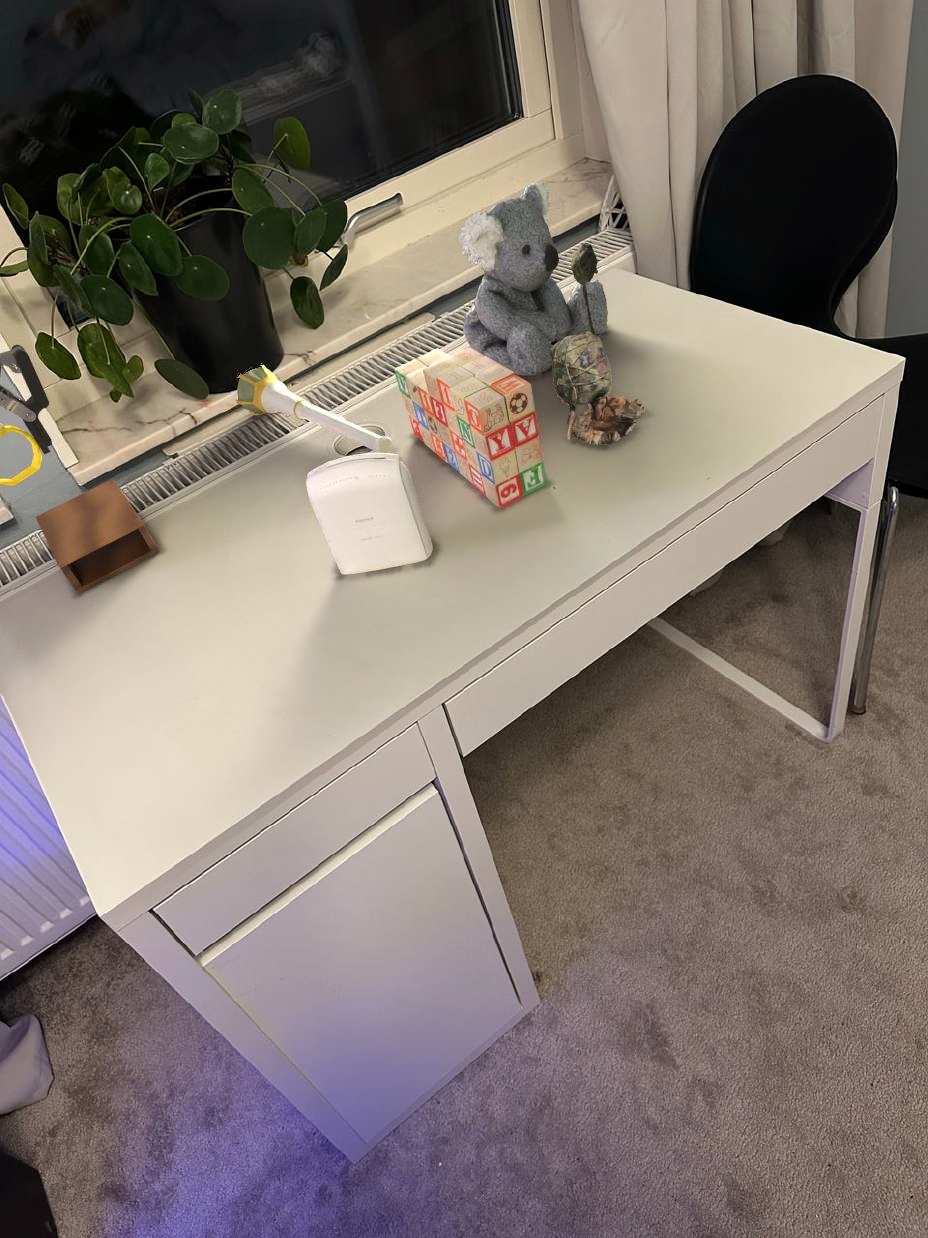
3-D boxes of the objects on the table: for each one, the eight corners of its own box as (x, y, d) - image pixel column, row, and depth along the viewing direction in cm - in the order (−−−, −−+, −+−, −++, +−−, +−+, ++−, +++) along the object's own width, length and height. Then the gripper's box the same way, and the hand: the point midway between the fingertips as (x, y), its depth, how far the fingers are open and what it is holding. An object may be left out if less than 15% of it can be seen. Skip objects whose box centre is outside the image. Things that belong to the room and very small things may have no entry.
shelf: (78, 594, 95) (57, 564, 92) (55, 545, 104) (35, 516, 101) (160, 551, 98) (141, 521, 95) (130, 507, 107) (113, 478, 104)
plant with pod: (541, 438, 98) (511, 268, 85) (617, 397, 101) (599, 226, 88) (584, 464, 93) (559, 285, 79) (663, 419, 96) (652, 240, 82)
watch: (44, 459, 91) (13, 411, 87) (54, 466, 89) (23, 417, 85) (-7, 489, 88) (-42, 440, 84) (2, 496, 87) (-33, 447, 83)
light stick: (357, 439, 98) (215, 374, 115) (371, 483, 102) (232, 415, 119) (400, 409, 101) (256, 351, 118) (411, 454, 105) (271, 391, 122)
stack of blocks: (412, 436, 105) (385, 343, 97) (455, 415, 106) (432, 322, 98) (500, 509, 90) (477, 407, 81) (549, 484, 91) (531, 381, 83)
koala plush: (536, 386, 107) (510, 229, 94) (440, 361, 118) (404, 217, 105) (618, 325, 115) (605, 171, 101) (520, 307, 126) (496, 166, 112)
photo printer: (336, 580, 87) (295, 481, 79) (340, 554, 90) (301, 456, 82) (433, 564, 85) (401, 461, 77) (434, 538, 89) (404, 437, 80)
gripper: (-18, 272, 81) (73, 423, 92) (-171, 333, 77) (-57, 483, 88) (-6, 288, 76) (88, 447, 87) (-170, 354, 72) (-49, 512, 83)
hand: (14, 464), depth 88 cm, fingers closed on watch, 6 cm apart
